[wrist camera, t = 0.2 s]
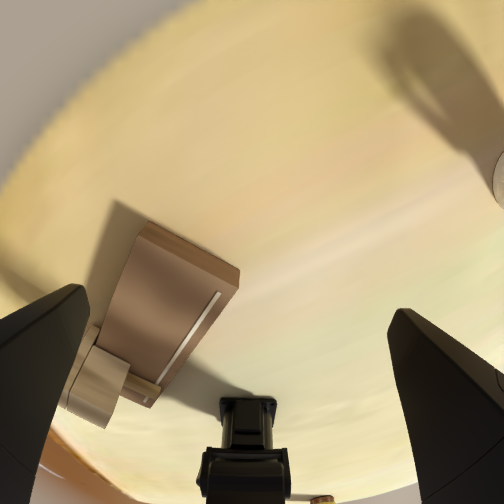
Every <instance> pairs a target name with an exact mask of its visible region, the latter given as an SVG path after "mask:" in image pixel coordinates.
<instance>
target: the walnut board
mask: <svg viewBox="0 0 504 504" xmlns="http://www.w3.org/2000/svg"><path fill="white" fill-rule="evenodd" d="M239 277H240V270H239V269H237V268H235V267H233V266H231V265H229V264H227V263H225V262H224V261H222V260H220V259H218V258H216V257H214V256H212V255H210V254H209V253H207V252H205V251H203V250H201V249H199V248H197V247H196V246H194V245H192V244H190V243H188V242H186V241H185V240H183V239H181V238H179V237H177V236H175V235H173V234H172V233H170V232H168V231H166V230H164V229H163V228H161V227H159V226H157V225H155V224H153V223H152V222H150V221H149V222H148V223H147V224H146V225H145V227H144V228H143V229H142V231H141V232H140V233H139V234H138V236H137V238H136V241H135V243H134V245H133V248H132V250H131V252H130V255H129V257H128V259H127V262H126V264H125V267H124V269H123V272H122V274H121V277H120V279H119V282H118V284H117V287H116V289H115V292H114V295H113V297H112V300H111V303H110V305H109V308H108V311H107V314H106V316H105V319H104V322H103V325H102V328H101V331H100V334H99V337H98V340H97V343H96V347H98V348H100V349H102V350H103V351H105V352H107V353H109V354H111V355H113V356H115V357H117V358H119V359H121V360H123V361H125V362H127V363H129V364H131V365H130V367H129V370H128V372H129V373H131V374H133V375H135V376H137V377H140V378H142V379H144V380H146V381H148V382H151V383H153V384H155V385H157V386H160V387H161V389H160V393H159V396H160V395H161V393H162V392H163V391H164V389H165V388H166V386H167V385H168V384H169V382H170V381H171V380H172V378H173V377H174V376H175V374H176V373H177V372H178V370H179V369H180V368H181V366H182V365H183V364H184V362H185V361H186V359H187V358H188V357H189V355H190V354H191V353H192V351H193V350H194V349H195V347H196V346H197V345H198V343H199V342H200V340H201V339H202V338H203V336H204V335H205V334H206V332H207V331H208V330H209V328H210V327H211V325H212V324H213V323H214V321H215V320H216V319H217V317H218V316H219V315H220V313H221V312H222V310H223V309H224V308H225V306H226V305H227V304H228V302H229V301H230V299H231V298H232V297H233V295H234V294H235V293H236V291H237V290H238V289H239ZM120 396H122V397H125V398H127V399H129V400H131V401H133V402H136V403H138V404H140V405H142V406H145V407H147V408H151V407H152V405H153V404H154V403H155V401H156V400H157V399H158V397H159V396H158V397H157V398H156V400H154V399H152V398H150V397H147V396H145V395H143V394H140V393H138V392H136V391H134V390H132V389H130V388H127V387H125V386H122V389H121V392H120Z"/></svg>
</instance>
